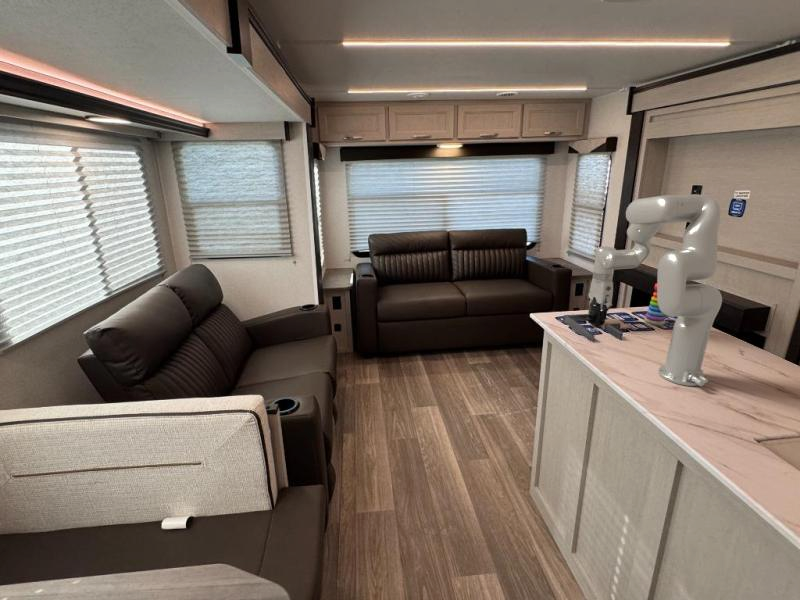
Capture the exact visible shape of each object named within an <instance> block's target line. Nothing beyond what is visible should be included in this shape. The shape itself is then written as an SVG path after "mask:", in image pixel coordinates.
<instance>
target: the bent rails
mask: <svg viewBox="0 0 800 600" xmlns="http://www.w3.org/2000/svg"><path fill="white" fill-rule="evenodd" d="M588 314H589V313H581V314H564V315H563V319H562V320H563V321H562V322H563V323H565V324H566V325H567V326H569V328H571V329H573V330H574V331H575V332H577V333H578V334H580V335H581V336H582V337H583V338H585V339H586V338H587V339H586V340H588V341H589V340H590V341H589V342H591V341H595V334H594V333H593V332H592V331H590V330H588V329H587V328H585V327H584V326H583V325H581V324H580V323H578V322H588ZM620 326H621V323H606V324H605V327H604V329H603V331H605V332H606V333H608V334H609V335H611V336H612V337H614V338H615V339H617V340H618V339H619V341H622V340H623V336H624V335H623V334H624V333H623V332H621V331H620V330H621V329H620Z"/></svg>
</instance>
